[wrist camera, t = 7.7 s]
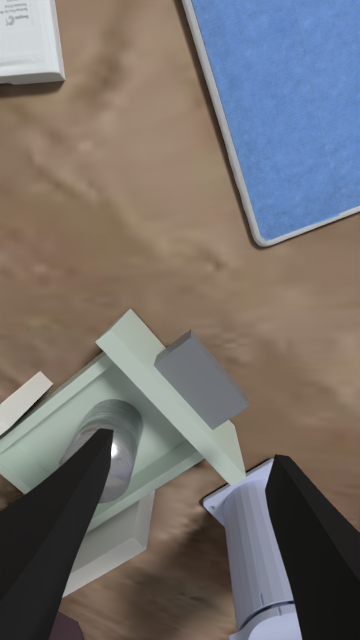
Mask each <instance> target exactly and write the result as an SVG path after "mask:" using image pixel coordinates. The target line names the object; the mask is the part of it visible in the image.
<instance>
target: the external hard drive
mask: <svg viewBox="0 0 360 640" xmlns="http://www.w3.org/2000/svg"><path fill="white" fill-rule="evenodd" d="M55 81H65V74H64V66H63V59H62V51H61V43H60V36H59V29H58V21H57V14H56V7H55V0H0V84H1V83H11V84H13V85H19V84H31V83H43V82H55Z"/></svg>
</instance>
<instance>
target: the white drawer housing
mask: <svg viewBox="0 0 360 640" xmlns="http://www.w3.org/2000/svg"><path fill="white" fill-rule="evenodd" d="M52 385H53V383H52V382H51V381H50V380H49V379H48V378H47V377H46V376H45V375H44V374H43V373H42V372H41V371H39V372H38V373H37V374H36V375H35V376H33V377H32V378H31V379H30V380H29V381H28V382H26V383H25V384H24V385H23V386H22V387H20V388H19V389H18V390H17V391H16V392H14V393H13V394H12V395H11V396H10V397H8V398H7V399H6V400H5V401H4V402H2V403H1V404H0V435H1V434H2V433H4V432H5V431H6V430H7V429H9V428H10V427H11V426H12V425H13V424H14V423H15V422H16V421H17V420H18V419H19V418H20V417H21V416H22V415H23V414H24V413H25V412H26V411H27V410H28V409H29V408H30V407H31V406H32V405H33V404H34V403H35V402H36V401H37V400H38V399H39V398H40V397H41V396H42V395H43V394H44V393H45V392H46V391H47V390H48V389H49V388H50V387H51V386H52ZM154 494H155V490H154V491H152V492H151V493H149V494H148V495H146V496H144V497H143V498H141V499H140V500H138V501H137V502H135V503H133V504H132V505H130V506H129V507H127V508H126V509H124V510H122V511H121V512H119V513H118V514H116V515H114V516H113V517H111V518H110V519H108V520H107V521H105V522H103V523H102V524H100V525H99V526H97V527H95V528H94V529H92V530H91V531H89V532H88V533H86V534H85V536H84V539H83V541H82V543H81V546H80V548H79V551H78V553H77V556H76V558H75V561H74V564H73V567H72V570H71V573H70V576H69V579H68V582H67V585H66V588H65V591H64V594H63V597H65V596H67V595H68V594H70V593H72V592H74V591H75V590H77V589H79V588H81V587H82V586H84V585H86V584H87V583H89V582H91V581H93V580H94V579H96V578H98V577H100V576H101V575H103V574H105V573H106V572H108V571H110V570H112V569H113V568H115V567H117V566H119V565H120V564H122V563H124V562H125V561H127V560H129V559H131V558H132V557H134V556H136V555H138V554H139V553H141V552H143V551H144V550H146V548H147V541H148V534H149V528H150V521H151V514H152V508H153V501H154ZM63 597H62V598H63Z"/></svg>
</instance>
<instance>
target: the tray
mask: <svg viewBox="0 0 360 640" xmlns="http://www.w3.org/2000/svg"><path fill="white" fill-rule="evenodd" d="M96 344H97V345H98V346H99V347H100V348H101V349H102V350H103V352H102V353H100V354H99V355H98V356H97V357H95V358H94V359H93V360H92V361H91V362H89V363H88V364H87V365H86V366H84V367H83V368H82V369H81V370H80V371H78V372H77V373H76V374H75V375H73V376H72V377H71V378H70V379H69V380H67V381H66V382H65V383H64V384H62V385H61V386H60V387H59V388H57V389H56V390H55V391H54V392H53V393H51V394H50V395H49V396H48V397H46V398H45V399H44V400H43V401H42V402H40V403H39V404H38V405H37V406H35V407H34V408H33V409H32V410H31V411H29V412H28V413H27V414H26V415H24V416H23V417H22V418H21V419H19V420H18V421H17V422H16V423H15V424H13V425H12V426H11V427H10V428H9V429H7V430H6V431H5V432H4V433H3V434H2V435H1V436H0V474H2V475H3V476H4V477H5V478H6V479H7V480H9V481H10V482H11V483H12V484H13V485H14V486H16V487H17V488H18V489H19V490H20V491H21V492H23V493H24V494H26V493H28V492H29V491H31V490H32V489H33V488H35V487H36V486H37V485H38V484H40V483H41V482H42V481H43V480H45V479H46V478H47V477H48V476H50V475H51V474H52V473H53V472H54V471H55V470H57V469H58V466H59V462H60V460H61V458H62V456H63V455H64V453H65V451H66V450H67V448H68V447H69V445H70V443H71V442H72V440H73V438H74V437H75V435H76V433H77V432H78V430H79V428H80V427H81V425H82V423H83V422H84V420H85V419H86V417H87V415H88V414H89V412H90V410H91V409H92V408H93V407H94V406H95V405H96V404H97V403H99V402H101V401H104V400H108V399H118V400H122V401H125V402H127V403H129V404H131V405H132V406H134V407H135V408H136V409H137V410H138V411H139V413H140V414H141V416H142V419H143V423H144V429H143V433H142V437H141V441H140V445H139V449H138V453H137V456H136V460H135V464H134V468H133V472H132V476H131V480H130V484H129V486H128V489H127V490H126V492H125V493H124V494H123V495H122V496H121V497H119V498H118V499H116V500H114V501H111V502H108V503H98V505H97V508H96V510H95V512H94V515H93V517H92V519H91V522H90V524H89V527H88V529H87V531H86V533H88V532H89V531H91V530H92V529H94V528H95V527H97V526H99V525H100V524H102V523H103V522H105V521H107V520H108V519H110V518H111V517H113V516H114V515H116V514H118V513H119V512H121V511H122V510H124V509H126V508H127V507H129V506H130V505H132V504H133V503H135V502H137V501H138V500H140V499H141V498H143V497H144V496H146V495H148V494H149V493H151V492H152V491H154V490H156V489H157V488H159V487H160V486H162V485H163V484H165V483H167V482H168V481H170V480H171V479H173V478H174V477H176V476H178V475H179V474H181V473H182V472H184V471H186V470H187V469H189V468H190V467H192V466H193V465H195V464H197V463H198V462H200V461H201V460H203V459H204V458H205V459H206V460H207V461H208V462H209V463H210V464H211V465H212V466H213V467H214V468H215V469H216V471H217V472H218V473H219V474H220V475H221V476H222V477H223V478H224V479H225V480H226V481H227V482H228V483H229V484H230V485H231V486H234V485H236V484H237V483H239V482H241V481H242V480H244V479H246V478H247V477H246V473H245V469H244V464H243V460H242V456H241V451H240V447H239V443H238V439H237V434H236V430H235V426H234V425H233V424H232V423H231V421H230V420H229V419H231V418H232V417H234V416H235V415H237V414H238V413H240V412H241V411H243V410H244V409H246V408H247V407H249V403H248V401H247V398H246V395H245V393H244V391H243V390H242V389H241V388H240V387H239V386H238V384H237V383H236V382H235V381H234V380H233V378H232V377H231V376H230V375H229V374H228V373H227V371H226V370H225V369H224V368H223V367H222V365H221V364H220V363H219V362H218V361H217V360H216V358H215V357H214V356H213V355H212V354H211V352H210V351H209V350H208V349H207V348H206V347H205V345H204V344H203V343H202V342H201V341H200V339H199V338H198V337H197V336H196V335H195V334H194V332H193V331H192V330H189V331H188V332H187V333H185V334H184V335H183V336H182V337H180V338H179V339H178V340H176V341H175V342H174V343H172V344H171V345H170V346H168V347H167V348H165V347H164V346H163V345H162V343H161V342H160V341H159V340H158V339H157V338H156V337H155V336H154V334H153V333H152V332H151V331H150V330H149V329H148V328H147V327H146V325H145V324H144V323H143V322H142V321H141V320H140V319H139V317H138V316H137V315H136V314H135V313H134V312H133V311H132V310H131V308H130V309H129V310H128V311H127V312H125V313H124V314H123V315H122V316H121V317H119V318H118V319H117V320H116V321H115V322H114V323H113V324H112V325H111V326H110V327H109V328H108V329H107V330H106V331H105V332H104V334H103V335H102V336H101V337H100V338H99V339H98V340H97V341H96Z"/></svg>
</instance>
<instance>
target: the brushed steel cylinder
mask: <svg viewBox="0 0 360 640" xmlns="http://www.w3.org/2000/svg"><path fill="white" fill-rule="evenodd" d="M99 428H104V429H110V430H114V433H113V444H112V456H111V467H110V471H109V474H108V477H107V481H106V484H105V487H104V490H103V493H102V495H101V498H100V500H99V503H108V502H111V501H114V500H116V499H118V498H119V497H121V496H122V495H123V494H124V493H125V492H126V490H127V489H128V486H129V484H130V480H131V476H132V472H133V468H134V464H135V460H136V456H137V453H138V449H139V445H140V441H141V437H142V433H143V429H144V423H143V419H142V416H141V414H140V413H139V411H138V410H137V409H136V408H135V407H134V406H132V405H131V404H129V403H127V402H125V401H122V400H118V399H108V400H104V401H101V402H99V403H97V404H96V405H95V406H94V407H93V408H92V409H91V410H90V412H89V414H88V415H87V417H86V419H85V420H84V422H83V423H82V425H81V427H80V428H79V430H78V432H77V433H76V435H75V437H74V438H73V440H72V442H71V443H70V445H69V447H68V448H67V450H66V451H65V453H64V455H63V456H62V458H61V460H60V462H59V466H58V468H59V467H60V466H61V465H62V464H64V463H65V462H66V461H67V460H68V459H69V458H70V457H71V456H72V455H73V454H74V453H75V452H76V451H77V450H78V449H80V448H81V447H82V446H83V445H84V443H85V442H86V441H87V440H88V439H89V438H90V437H91V436H92V435H93V434H94V433H95V432H96V431H97V430H98V429H99Z"/></svg>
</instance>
